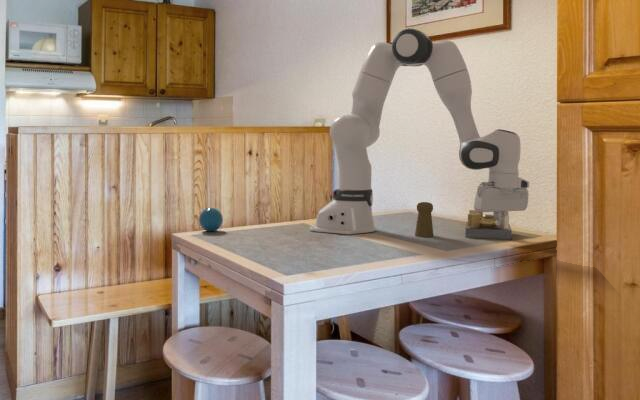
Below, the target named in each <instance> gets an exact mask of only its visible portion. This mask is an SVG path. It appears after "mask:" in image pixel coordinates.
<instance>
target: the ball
mask: <svg viewBox="0 0 640 400" xmlns="http://www.w3.org/2000/svg"><path fill="white" fill-rule="evenodd" d="M223 222H224V217H223V214H222V213H221V212H220V210H219V209H217V208H214V207H208V208H205V209H203V210H201V212H200V214H199V216H198V223H199V225H200V227H201V229H203V230H204V231H206V232H209V233H210V232H211V233H212V232H216V231H218V230H219V229H221V227H222V225H223Z"/></svg>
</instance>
